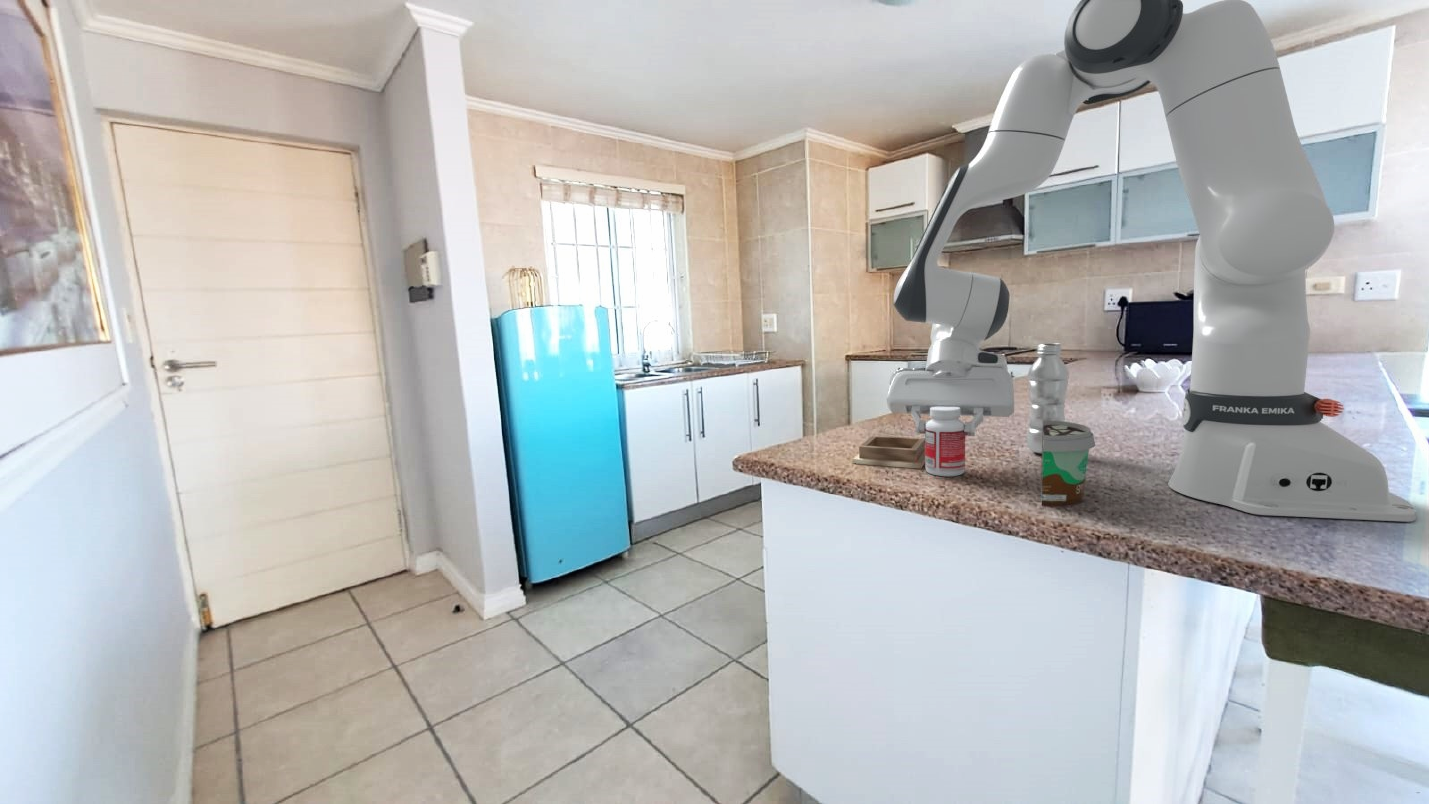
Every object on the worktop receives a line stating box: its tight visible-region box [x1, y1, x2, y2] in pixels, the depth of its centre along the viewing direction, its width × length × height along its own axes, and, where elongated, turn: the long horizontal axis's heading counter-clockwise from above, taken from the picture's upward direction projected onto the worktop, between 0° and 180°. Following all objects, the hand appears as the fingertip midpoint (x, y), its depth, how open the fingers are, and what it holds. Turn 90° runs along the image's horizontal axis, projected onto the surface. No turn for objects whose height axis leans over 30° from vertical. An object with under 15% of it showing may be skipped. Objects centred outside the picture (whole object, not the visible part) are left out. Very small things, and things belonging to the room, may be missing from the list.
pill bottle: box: [924, 406, 966, 477], centre depth 93 cm, size 6×6×11 cm
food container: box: [1040, 420, 1096, 507], centre depth 77 cm, size 12×6×10 cm, turn 150°
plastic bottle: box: [1025, 343, 1070, 455], centre depth 100 cm, size 6×7×20 cm
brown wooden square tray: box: [852, 435, 926, 469], centre depth 104 cm, size 12×12×3 cm
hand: (944, 433), depth 92 cm, fingers closed on pill bottle, 6 cm apart
